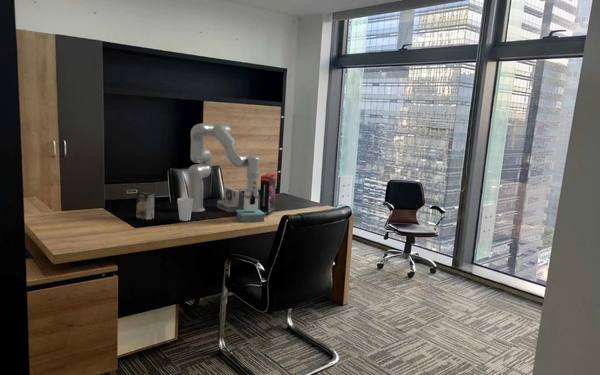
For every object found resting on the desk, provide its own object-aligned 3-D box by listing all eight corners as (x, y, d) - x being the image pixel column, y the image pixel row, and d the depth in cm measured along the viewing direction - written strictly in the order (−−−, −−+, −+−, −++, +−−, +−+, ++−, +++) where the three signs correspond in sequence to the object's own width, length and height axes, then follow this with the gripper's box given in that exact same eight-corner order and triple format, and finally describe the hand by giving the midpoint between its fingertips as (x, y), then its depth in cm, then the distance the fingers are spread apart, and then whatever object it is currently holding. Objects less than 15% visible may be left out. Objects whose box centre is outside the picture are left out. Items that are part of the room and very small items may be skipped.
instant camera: (215, 206, 319) (216, 186, 316) (242, 205, 328) (243, 185, 326) (224, 213, 300) (225, 191, 298) (252, 211, 310) (253, 190, 308)
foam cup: (195, 219, 277) (195, 199, 275) (187, 222, 268) (188, 201, 266) (181, 217, 279) (182, 197, 277) (174, 220, 271) (174, 199, 268)
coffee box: (135, 217, 270) (135, 192, 267) (143, 216, 276) (143, 191, 273) (147, 220, 266) (147, 194, 264) (154, 218, 272) (155, 192, 269)
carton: (257, 210, 283) (258, 192, 281) (245, 210, 280) (246, 192, 278) (255, 208, 288) (256, 190, 287) (243, 209, 285) (244, 190, 283)
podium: (240, 222, 276) (241, 214, 275) (235, 217, 288) (236, 209, 287) (265, 221, 283) (265, 213, 282) (258, 217, 294) (259, 209, 294)
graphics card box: (268, 216, 298) (270, 176, 294) (258, 215, 300) (260, 175, 295) (274, 211, 315) (276, 174, 311) (265, 210, 316) (267, 173, 312)
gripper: (262, 177, 274) (260, 206, 277) (254, 173, 290) (252, 200, 293) (250, 177, 271) (249, 206, 274) (243, 173, 287) (241, 200, 290)
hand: (250, 203), depth 284 cm, fingers closed on carton, 5 cm apart
